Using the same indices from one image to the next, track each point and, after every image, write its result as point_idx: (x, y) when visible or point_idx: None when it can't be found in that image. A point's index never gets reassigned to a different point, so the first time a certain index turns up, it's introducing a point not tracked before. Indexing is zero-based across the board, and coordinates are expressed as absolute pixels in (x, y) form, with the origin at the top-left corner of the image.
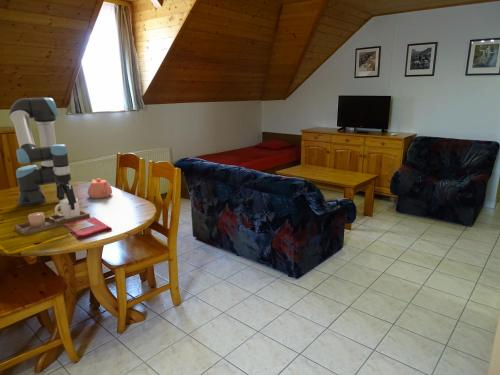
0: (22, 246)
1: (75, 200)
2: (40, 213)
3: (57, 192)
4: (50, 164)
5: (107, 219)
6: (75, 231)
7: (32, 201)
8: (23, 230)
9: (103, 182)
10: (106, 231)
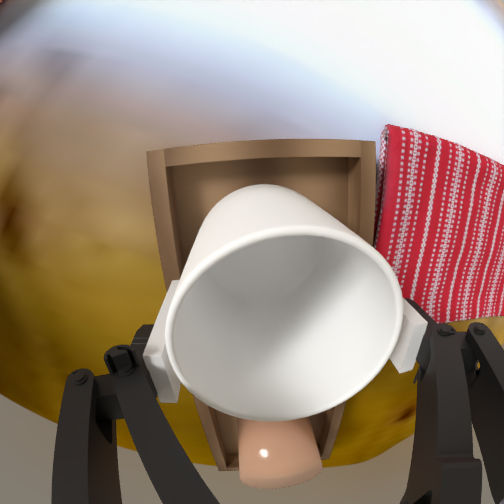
0: (383, 440)
1: (495, 342)
2: (285, 465)
3: (113, 482)
4: None
5: (443, 89)
6: (474, 313)
7: None
8: None
9: None
10: None
